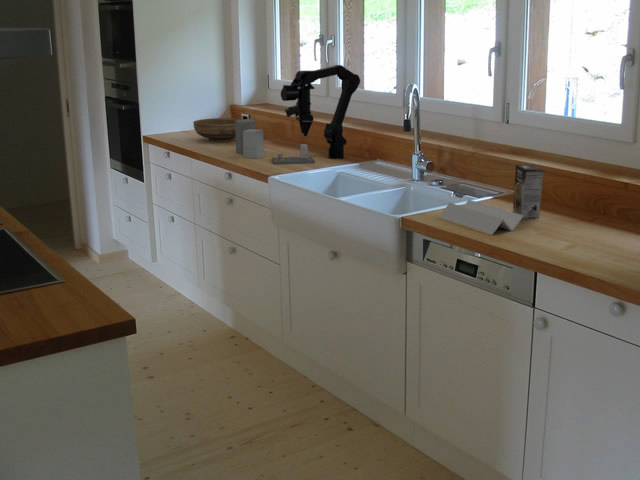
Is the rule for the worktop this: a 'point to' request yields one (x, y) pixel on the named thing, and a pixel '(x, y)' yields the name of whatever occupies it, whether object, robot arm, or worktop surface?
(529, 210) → the coffee box
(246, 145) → the supplement box
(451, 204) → the z bracket
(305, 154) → the block
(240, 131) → the skincare box
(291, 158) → the plate
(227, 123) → the wooden bowl
